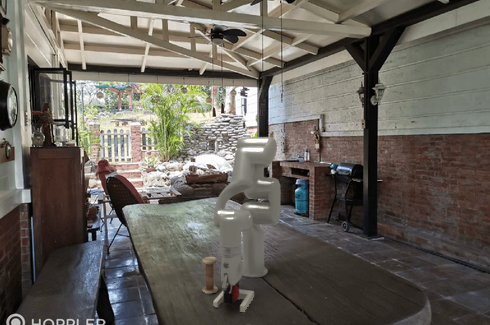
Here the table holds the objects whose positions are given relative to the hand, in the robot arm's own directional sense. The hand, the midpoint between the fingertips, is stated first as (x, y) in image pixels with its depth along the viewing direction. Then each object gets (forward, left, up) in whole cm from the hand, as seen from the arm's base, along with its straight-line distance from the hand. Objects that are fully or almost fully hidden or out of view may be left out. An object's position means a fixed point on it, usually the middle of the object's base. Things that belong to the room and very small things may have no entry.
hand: (231, 298), depth 124 cm
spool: (-9, -12, -3) cm, 15 cm away
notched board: (-3, 0, -3) cm, 4 cm away
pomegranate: (0, 0, -2) cm, 2 cm away
